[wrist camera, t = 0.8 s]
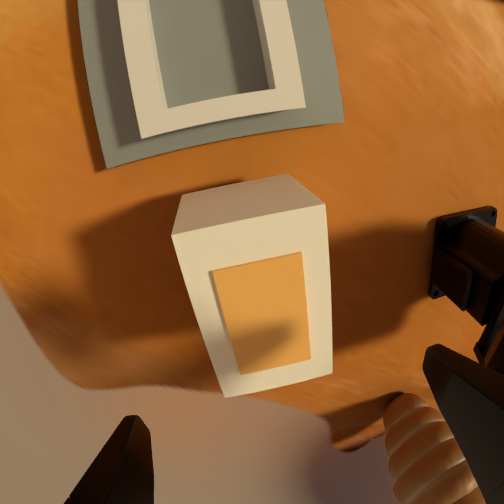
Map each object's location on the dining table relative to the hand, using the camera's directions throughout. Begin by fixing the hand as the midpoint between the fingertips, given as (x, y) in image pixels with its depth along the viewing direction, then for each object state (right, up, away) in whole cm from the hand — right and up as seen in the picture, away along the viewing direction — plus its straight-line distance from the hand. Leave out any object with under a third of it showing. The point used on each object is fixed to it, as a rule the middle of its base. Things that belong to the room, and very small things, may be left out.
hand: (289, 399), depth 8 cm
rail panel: (-4, +19, +3) cm, 19 cm away
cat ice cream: (+14, -11, +19) cm, 26 cm away
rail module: (-1, +5, +10) cm, 11 cm away
